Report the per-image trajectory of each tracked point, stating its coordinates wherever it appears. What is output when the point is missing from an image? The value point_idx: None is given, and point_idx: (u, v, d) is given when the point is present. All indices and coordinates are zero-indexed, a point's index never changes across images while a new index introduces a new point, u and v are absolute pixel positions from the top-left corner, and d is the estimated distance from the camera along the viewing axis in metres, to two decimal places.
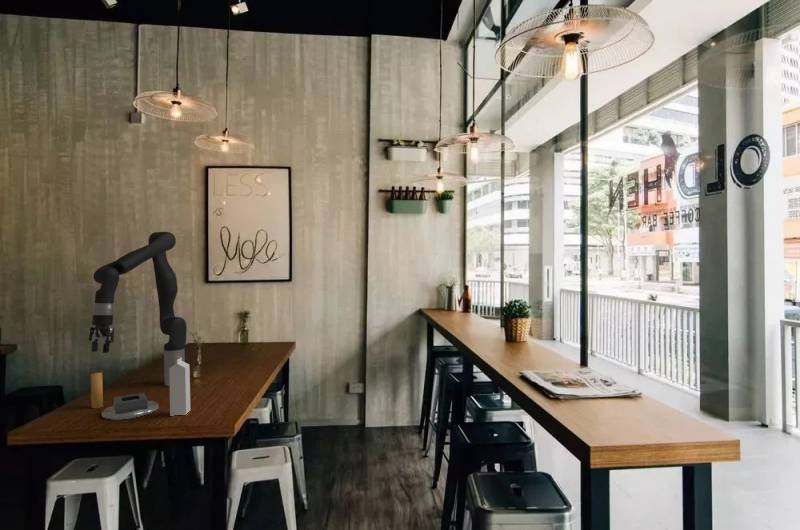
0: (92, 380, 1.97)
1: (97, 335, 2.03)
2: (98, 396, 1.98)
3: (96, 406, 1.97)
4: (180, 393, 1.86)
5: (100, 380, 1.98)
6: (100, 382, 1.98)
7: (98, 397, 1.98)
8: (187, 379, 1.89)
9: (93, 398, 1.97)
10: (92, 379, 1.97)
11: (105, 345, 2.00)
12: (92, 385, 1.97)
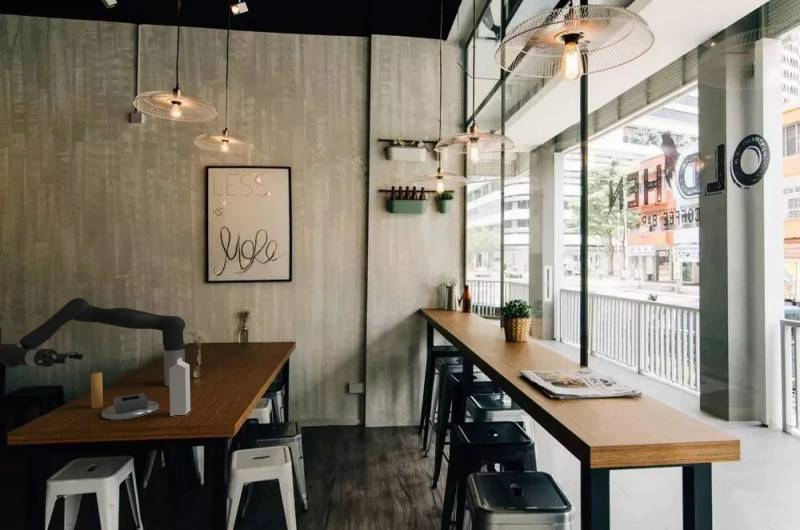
0: (92, 380, 1.97)
1: None
2: (98, 396, 1.98)
3: (96, 406, 1.97)
4: (180, 393, 1.86)
5: (100, 380, 1.98)
6: (100, 382, 1.98)
7: (98, 397, 1.98)
8: (187, 379, 1.89)
9: (93, 398, 1.97)
10: (92, 379, 1.97)
11: (56, 362, 1.97)
12: (92, 385, 1.97)
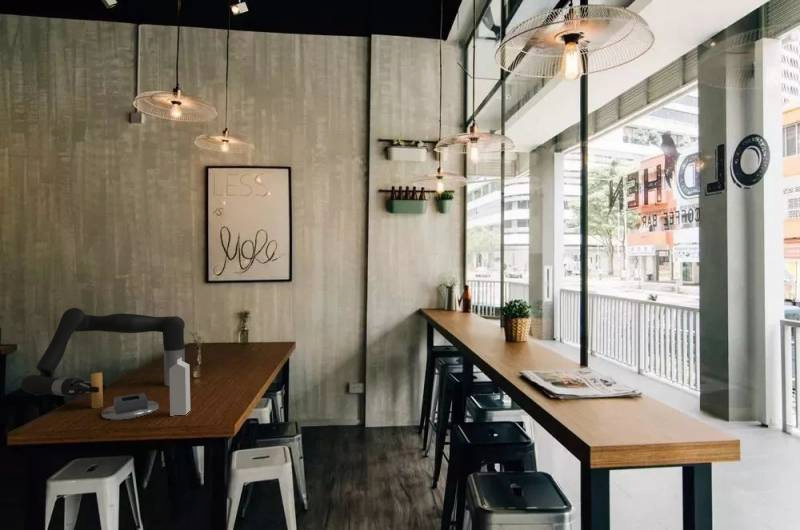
0: (92, 380, 1.97)
1: None
2: (98, 396, 1.98)
3: (96, 406, 1.97)
4: (180, 393, 1.86)
5: (100, 380, 1.98)
6: (100, 382, 1.98)
7: (98, 397, 1.98)
8: (187, 379, 1.89)
9: (93, 398, 1.97)
10: (92, 379, 1.97)
11: (90, 391, 1.96)
12: (92, 385, 1.97)
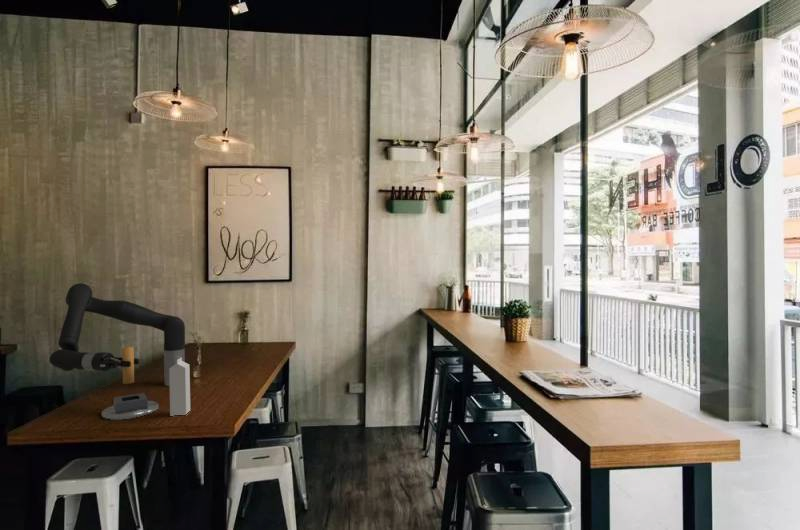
0: (124, 354, 1.90)
1: None
2: (130, 371, 1.91)
3: (128, 381, 1.90)
4: (180, 393, 1.86)
5: (132, 354, 1.91)
6: (132, 356, 1.91)
7: (130, 372, 1.91)
8: (187, 379, 1.89)
9: (124, 373, 1.90)
10: (124, 353, 1.90)
11: (122, 366, 1.89)
12: (124, 359, 1.90)
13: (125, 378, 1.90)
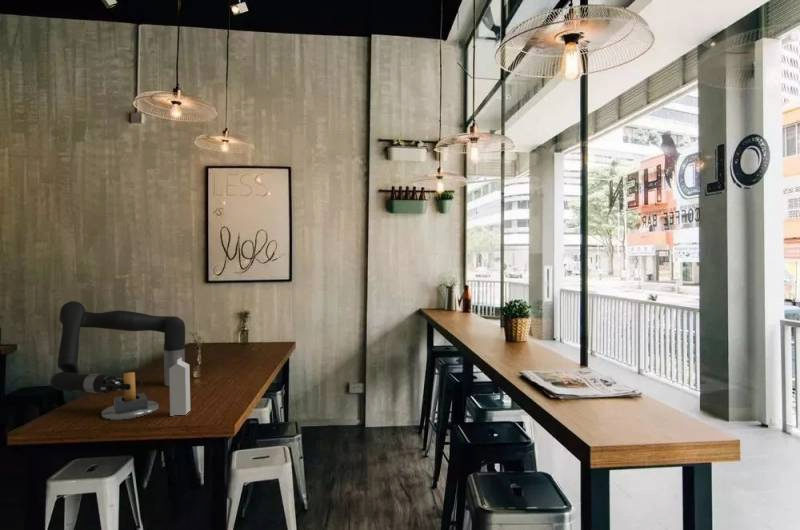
0: (125, 380, 1.90)
1: None
2: (132, 396, 1.91)
3: None
4: (180, 393, 1.86)
5: (133, 380, 1.91)
6: (133, 382, 1.91)
7: (132, 398, 1.91)
8: (187, 379, 1.89)
9: (126, 399, 1.90)
10: (125, 379, 1.90)
11: (121, 388, 1.88)
12: None
13: None
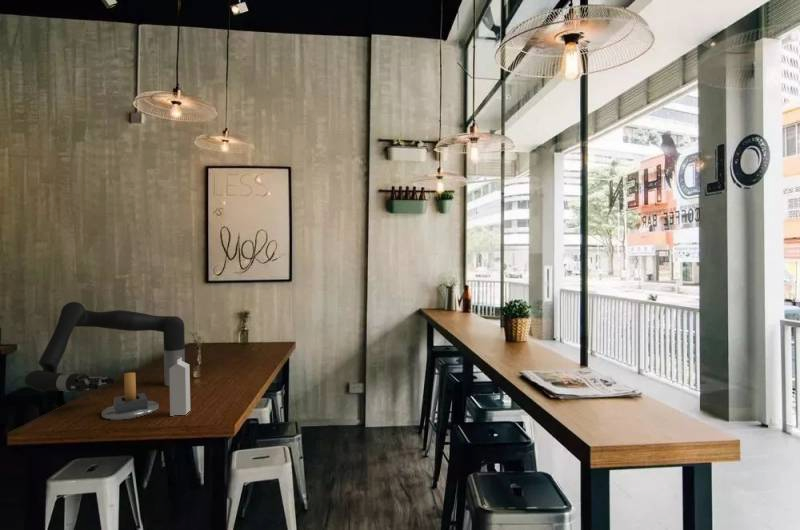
0: (125, 380, 1.90)
1: None
2: (132, 397, 1.91)
3: None
4: (180, 393, 1.86)
5: (133, 380, 1.91)
6: (133, 382, 1.91)
7: (132, 398, 1.91)
8: (187, 379, 1.89)
9: (126, 399, 1.90)
10: (125, 379, 1.90)
11: None
12: (125, 385, 1.90)
13: None
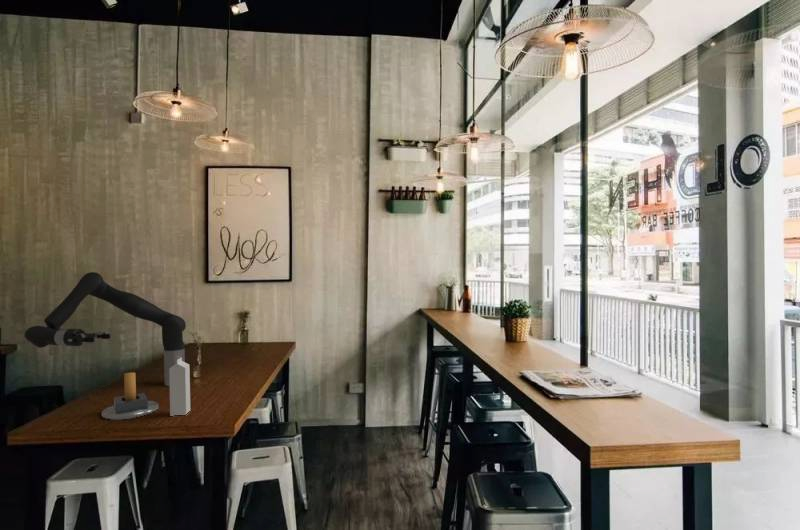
0: (125, 380, 1.90)
1: None
2: (132, 397, 1.91)
3: None
4: (180, 393, 1.86)
5: (133, 380, 1.91)
6: (133, 382, 1.91)
7: (132, 398, 1.91)
8: (187, 379, 1.89)
9: (126, 399, 1.90)
10: (125, 379, 1.90)
11: (86, 341, 2.01)
12: (125, 385, 1.90)
13: None
